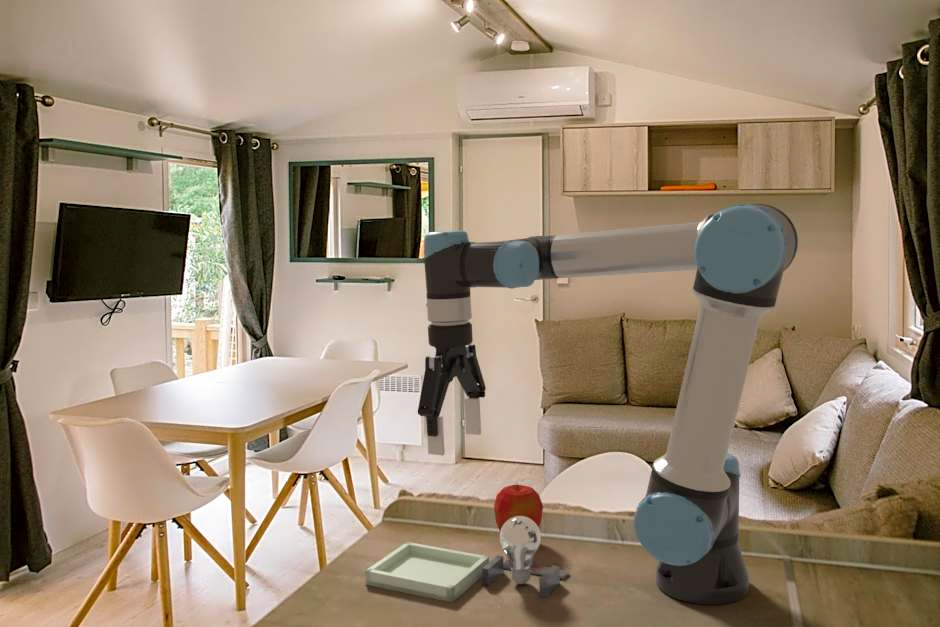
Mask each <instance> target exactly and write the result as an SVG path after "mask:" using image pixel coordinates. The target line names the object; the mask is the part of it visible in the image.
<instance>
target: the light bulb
mask: <svg viewBox="0 0 940 627" xmlns="http://www.w3.org/2000/svg"><path fill="white" fill-rule="evenodd" d="M539 528H540V527H539ZM539 528H538V526H537V524H536V523H535V522H534V521H533V520H531V519H530V518H528V517H526V516H514V517H512V518H510V519H509V520H507V521H506V522H505V523H504V525H503V526H502V528H501V532H500V531H499V541H500V545H501V547H502V549H503V551H504V552H505V554H506V555H507V558H508V560H509V563H510V566H511V567H512V568H511V570H510V571H511V572H510V574H511V575H510V577H511V579H512V581H514V582H515V583H516V584H517V585H518V586H524V585H525V584H527V583H528V581H529V580H530V579H531V577H532V576H531V572H530V571H531V569H530V566H531V564H533V558H534V556H535V554H536V552H537V551H538V549H539V547H540V544H541V530H540V529H539Z"/></svg>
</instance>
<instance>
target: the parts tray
mask: <svg viewBox="0 0 940 627" xmlns="http://www.w3.org/2000/svg"><path fill="white" fill-rule="evenodd" d="M489 562H490V556H487V555H484V554H483V555H482V554H477V553H472V552H471V553H470V552H466V551H461V550H456V549H455V550H454V549H449V548H443V547H438V546H432V545H427V544H421V543H416V542H410V541H407V542H405V543H403V544H402V545H401V546H399V547H398V548H396V549H395V550H393V551H391V552H390V553H389V554H387V555H386V556H385V557H383V558H381V559H380V560H378V561H377V562H375V563H374V564H372V565H371V566H369V567H368V568H367V569H365V570H364V576H365V585H366V586H367V585H368V586H372V587H377V588H381V589H385V590H391V591H393V592H394V591H395V592H399V593H404V594H408V595H409V594H410V595H414V596H419V597H423V598H429V599H431V600H432V599H433V600H438V601H443V602H447V603H452V604H453V603H454V601H456V600H457V599H458V598H459V597H460V596H461V595H463V594H464V593H466V592H467V591H468V589H469V588H471V587H472V586H473V585H474V584H475V583H476V582H477V581H478V580H480V579H481V578H482V568H483V567H484V566H485V565H486V564H488V563H489Z"/></svg>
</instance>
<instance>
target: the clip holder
mask: <svg viewBox="0 0 940 627" xmlns="http://www.w3.org/2000/svg"><path fill="white" fill-rule="evenodd" d="M511 568H512V567H511V566H510V563H509V559H505V560H504V556H503V555H496V556H495V557H494V558H492V559H491V560H489V563H488V564H486V565H485V566H484V567H483V568H482V577H481V578H482V579H481V580H482V586H484V587H485V586H486V587H489V586H490V585H492V584H493V583H494V582H495V581H497V579H499V577H500V576H502V575H503V574H504V572H505V570H509V571H511ZM560 568H561V567H560V566H558V565H552V566H551V567H547V566H543V565H537V564H533V563H532V564H531V566H530V569H531V571H530V572H531V574H532V575H535V576H541V577H540V578H539V579H538V580H539V586H538V587H539V597H542V598H548V597H549V595H550V594H551V593H552V592H553V591H554V590H555V589H556V588H557V587H558V586H559V585H560V583H561V581H560V580H565V579H566V578H567V577H568V576H569V575H570V574H569V572H570V571H569V570H566V569H565V570H564V569H560ZM531 574H530V575H531Z"/></svg>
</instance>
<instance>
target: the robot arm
mask: <svg viewBox="0 0 940 627" xmlns="http://www.w3.org/2000/svg"><path fill="white" fill-rule="evenodd" d="M798 248H799V236H798V231H797V227H796V225H795V223H794V222H793V220H792V218H790V216H789V215H788V214H786V213H785V212H784V211H783V210H781V209H780V208H777V207H775V206H773V205H769V204H765V203H753V204H752V203H751V204H745V203H740V204H735V205H731V206H728V207H725V208H723V209H721V210H720V211H717V213H715V214H713V213H712V214H707V215H706V216H705V217H704V219H703V220H702V221H697V222H685V223H675V224H665V225H663V224H662V225H653V226H651V225H650V226H641V227H631V228H621V229H619V228H618V229H610V230H600V231H589V232H588V231H585V232H578V233H577V232H576V233H575V232H574V233H565V234H558V235H545V236H544V235H535V236H529V237H525V238H518V239H516V238H515V239H509V240H508V239H507V240H502V241H501V240H500V241H499V240H498V241H482V242H474V241H470V239H469V235H468V233H467V232H466V231H465V230H441V231H430V232H427V234H426V235H425V236H424V239H423V261H424V274H425V276H424V277H425V288H426V304H425V307H426V310H427V312H426V314H427V321H428V322H430V323H428V324H429V325H428V326H427V334H428V336H427V337H428V344H429V346H431V347H433V348H434V349H435V355H426V356H425V359H424V360H425V361H424V362H425V364H424V368H425V370H424V375H423V380H422V386H421V390H420V397H419V402H418V407H417V414H418V415H419V416H420V417H425V419H426V421H425V422H426V433H427V434H426V436H427V452H428V455H434V456H444V455H446V453H445V451H446V450H445V435H444V416H443V415H441V411H442V407H443V404H444V401H445V398H446V395H447V392H448V388H449V385H450V383H452V381H453V380H454V378H455V377H456V378H457V380H458V383H459V384H460V385H461V387H462V389H463V391H464V393H465V394H466V397H465V398H464V399H463V402H464V420H465V423H464V424H465V434H467V435H475V436H476V435H478V436H480V435H482V424H481V421H482V420H481V402H480V401H481V399H480V398H485V396H486V392H485V391H486V390H487V389H486V383H485V380H484V377H483V374H482V369H481V367H480V363H479V359H478V357H477V351H476V350H477V349H476V344H474V343H473V338H474V337H473V324H472V323H471V322H470V320H471V319H472V316H473V313H472V300H471V288H507V289H510V290H511V289H512V290H513V289H516V288H517V289H518V288H519V289H520V288H527V287H530V286H532V285H533V284H534V283H535V281H539V280H541V281H542V280H555V279H556V280H557V279H566V278H584V277H585V278H587V277H598V276H616V275H617V276H619V275H631V274H648V273H663V272H665V273H667V272H680V271H681V272H683V271H695V278H694V282H693V288H692V293H694V295H695V298H696V299H697V300H698V302H699V307H698V312H697V318H696V321H695V327H694V330H693V335H692V340H691V343H690V348H689V351H688V352H689V353H688V356H687V357H688V358H687V359H686V360H687V361H686V365H685V369H684V374H683V378H682V383H681V387H680V391H679V395H678V396H679V397H678V400H677V405H676V408H675V409H676V410H675V413H674V416H673V417H674V418H673V421H672V427H671V432H670V435H669V439H668V443H667V448H666V451H665V452H666V453H665V454H663V455H662V456H660V457H658V458H656V459H654V462H653V463H652V467H651V472H650V476H649V480H648V481H649V482H648V486H647V489H646V493H645V496H644V497H643V499H641V501H640V502H639V503H638V506H637V507H636V510H635V513H634V516H633V518H634V519H633V527H634V532H635V535H636V538H637V539H638V541H639V542H640V545H642V547H643V549H644V550H645V551H646V552H647V553H648V554H649V555H651V556H652V557H653V558H654V559H656V560H658V563H657V565H656V570H655V572H656V573H655V578H656V579H655V580H656V581H655V582H656V586H657V587H658V589H659V590H660V591H662V592H663V593H664V594H665V595H666V596H667V595H668V596H669V597H671V598H673V599H677V600H680V601H683V602H687V603H692V604H698V605H723V604H731V603H734V602H737V601H739V600H742V599H743V598H745V597H746V596H747V595H748V594H749V590H750V576H749V575H750V574H749V571H748V568H747V565H746V562H745V560H744V559H745V558H744V557H743V553H742V551H741V550H742V549H741V548H740V547H741V546H740V543H739V542H740V541H739V534H740V533H739V530H740V528H739V527H740V526H739V524H740V477H741V476H742V474H741V472H740V463H739V460H738V458H737V457H736V456H734V455H733V454H731V453H728V452H729V448H730V443H731V439H732V434H733V430H734V427H735V423H736V422H735V421H736V419H737V416H738V415H737V414H738V411H739V406H740V403H741V398H742V394H743V390H744V386H745V383H746V382H745V381H746V379H747V374H748V369H749V365H750V362H751V361H750V360H751V358H752V353H753V350H754V345H755V341H756V338H757V334H758V330H759V329H758V328H759V325H760V321H761V318H762V316H763V315H765V314H767V313H768V312H770V311H772V310H774V309H775V306H776V303H777V299H778V295H779V291H780V288H781V283H782V280H783V275H784V272H785V271H786V270H787V269H788V268H789V267H790V266H791V265H792V263H793V261H794V259H795V258H796V254H797V252H798V250H799V249H798Z"/></svg>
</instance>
